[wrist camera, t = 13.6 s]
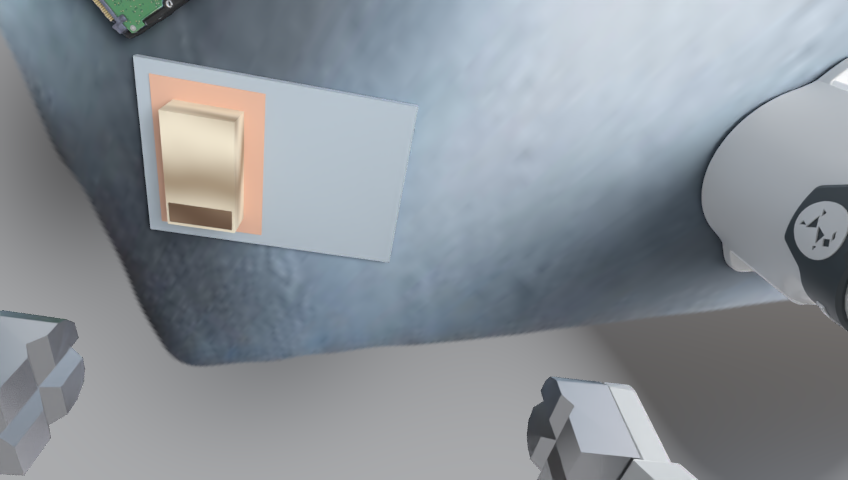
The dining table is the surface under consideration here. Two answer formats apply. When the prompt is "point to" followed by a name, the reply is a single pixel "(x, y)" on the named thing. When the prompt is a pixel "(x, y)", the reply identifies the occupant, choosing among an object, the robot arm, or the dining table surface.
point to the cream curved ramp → (203, 165)
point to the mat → (291, 158)
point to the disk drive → (137, 13)
